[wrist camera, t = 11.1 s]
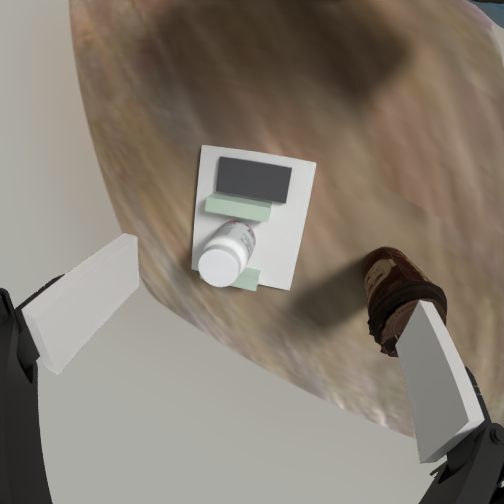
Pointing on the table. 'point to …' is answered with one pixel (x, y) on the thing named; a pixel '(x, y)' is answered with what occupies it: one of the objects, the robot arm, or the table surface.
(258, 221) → the dock
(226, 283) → the pill bottle
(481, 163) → the table surface
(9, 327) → the robot arm
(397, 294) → the coffee cup
